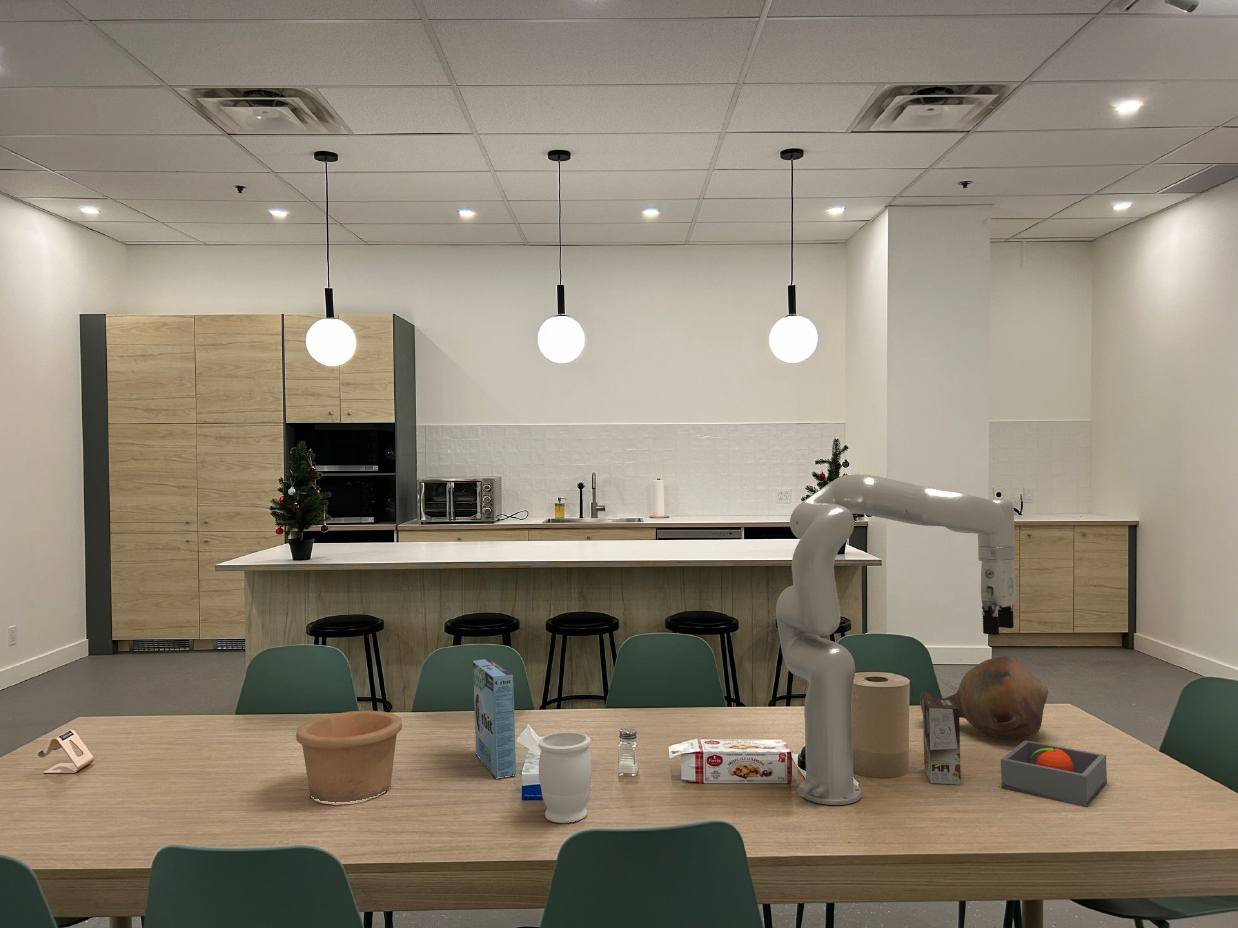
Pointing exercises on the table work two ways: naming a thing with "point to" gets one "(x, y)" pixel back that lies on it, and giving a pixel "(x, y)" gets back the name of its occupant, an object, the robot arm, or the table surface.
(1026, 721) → the jug
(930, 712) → the coffee box
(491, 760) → the gum box
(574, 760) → the jar
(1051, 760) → the clementine
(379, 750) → the pottery
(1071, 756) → the bin
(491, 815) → the table surface
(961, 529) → the robot arm
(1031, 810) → the table surface
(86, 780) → the table surface
